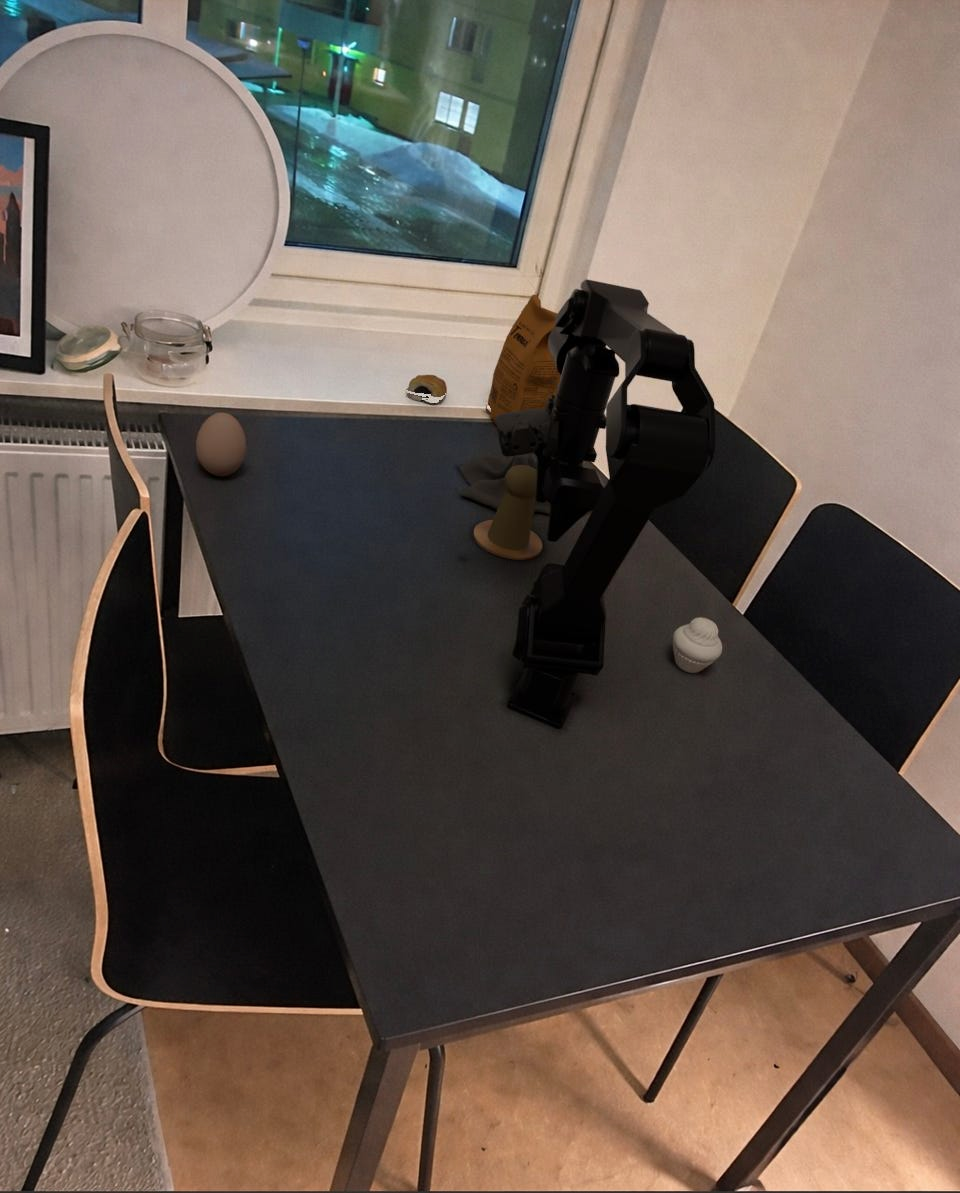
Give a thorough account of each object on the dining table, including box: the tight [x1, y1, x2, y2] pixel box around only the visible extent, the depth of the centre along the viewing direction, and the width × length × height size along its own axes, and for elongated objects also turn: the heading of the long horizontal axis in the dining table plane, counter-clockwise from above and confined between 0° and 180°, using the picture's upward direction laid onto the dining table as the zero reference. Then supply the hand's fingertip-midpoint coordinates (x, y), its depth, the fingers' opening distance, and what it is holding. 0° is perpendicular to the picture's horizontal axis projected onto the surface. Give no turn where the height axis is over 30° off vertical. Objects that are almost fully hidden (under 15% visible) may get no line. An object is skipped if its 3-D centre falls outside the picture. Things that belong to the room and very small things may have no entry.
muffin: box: [672, 616, 723, 674], centre depth 111 cm, size 6×6×7 cm
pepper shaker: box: [488, 465, 537, 550], centre depth 125 cm, size 6×6×11 cm
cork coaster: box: [472, 519, 543, 561], centre depth 129 cm, size 10×10×1 cm
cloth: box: [459, 453, 551, 516], centre depth 141 cm, size 22×19×6 cm
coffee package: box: [485, 294, 561, 426], centre depth 159 cm, size 10×12×22 cm
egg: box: [195, 412, 247, 477], centre depth 124 cm, size 7×7×9 cm
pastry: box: [405, 374, 448, 404], centre depth 166 cm, size 9×7×4 cm
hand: (545, 520), depth 108 cm, fingers open, 9 cm apart
